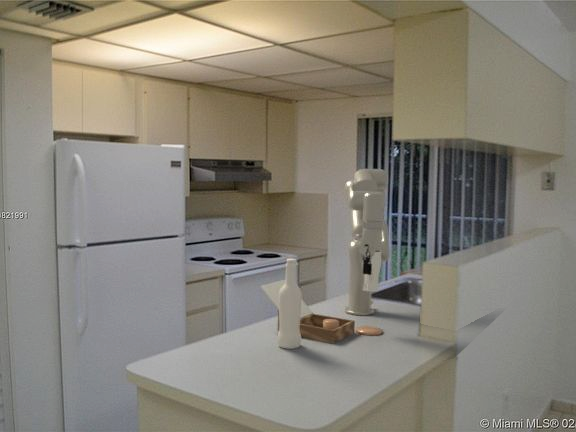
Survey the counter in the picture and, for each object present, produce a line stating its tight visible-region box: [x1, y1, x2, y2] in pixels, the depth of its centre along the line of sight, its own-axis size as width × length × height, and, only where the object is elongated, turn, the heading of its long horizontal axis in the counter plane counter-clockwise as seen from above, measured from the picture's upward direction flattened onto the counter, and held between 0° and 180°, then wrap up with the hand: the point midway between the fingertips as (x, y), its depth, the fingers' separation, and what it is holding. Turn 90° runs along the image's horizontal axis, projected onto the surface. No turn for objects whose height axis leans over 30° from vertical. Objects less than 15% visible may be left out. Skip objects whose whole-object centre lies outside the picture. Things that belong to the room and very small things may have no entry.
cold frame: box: [299, 313, 356, 344], centre depth 203 cm, size 17×18×4 cm
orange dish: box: [355, 325, 383, 337], centre depth 207 cm, size 10×10×1 cm
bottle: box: [276, 258, 303, 350], centre depth 186 cm, size 8×8×30 cm
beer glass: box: [362, 251, 382, 293], centre depth 205 cm, size 7×7×15 cm
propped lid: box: [259, 279, 314, 332], centre depth 211 cm, size 17×14×16 cm
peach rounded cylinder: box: [322, 319, 339, 330], centre depth 199 cm, size 6×6×6 cm
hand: (371, 272), depth 206 cm, fingers closed on beer glass, 6 cm apart
